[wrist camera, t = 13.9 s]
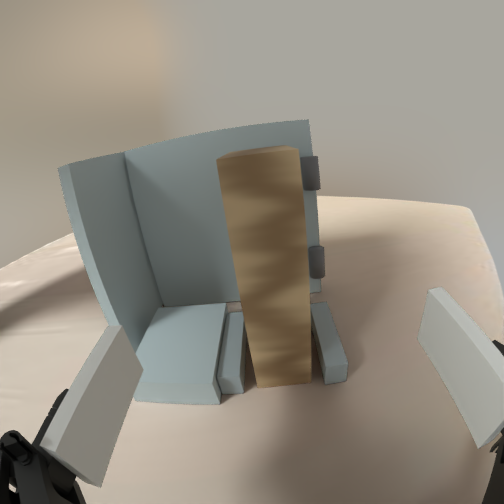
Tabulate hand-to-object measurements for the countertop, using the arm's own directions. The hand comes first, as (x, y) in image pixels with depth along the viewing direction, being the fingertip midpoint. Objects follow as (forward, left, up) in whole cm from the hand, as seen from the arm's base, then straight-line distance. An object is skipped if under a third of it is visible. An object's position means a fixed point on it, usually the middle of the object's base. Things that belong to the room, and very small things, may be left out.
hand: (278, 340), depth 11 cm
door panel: (-7, +5, -9) cm, 13 cm away
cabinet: (-12, +3, -9) cm, 16 cm away
